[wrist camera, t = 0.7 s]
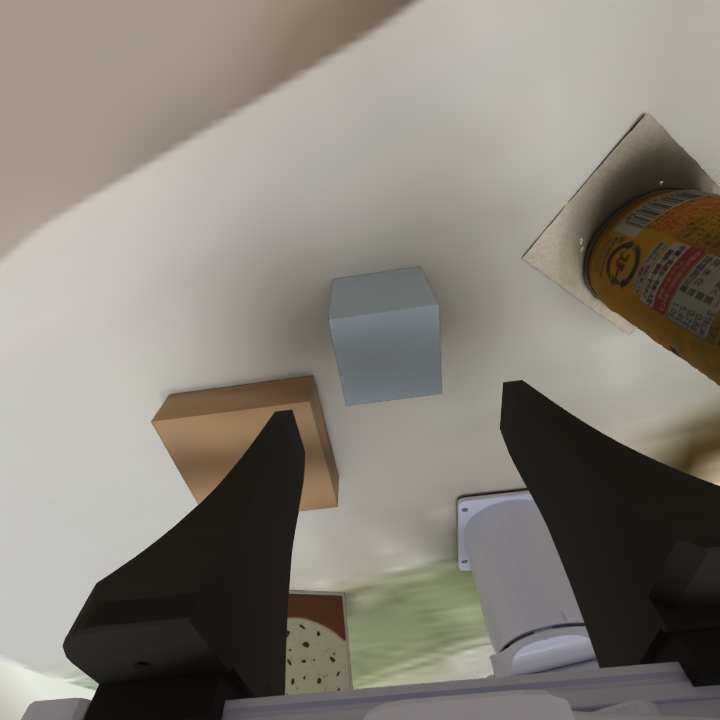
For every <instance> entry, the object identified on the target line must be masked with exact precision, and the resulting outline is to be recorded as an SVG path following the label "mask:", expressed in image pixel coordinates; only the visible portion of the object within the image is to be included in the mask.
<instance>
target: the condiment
mask: <svg viewBox="0 0 720 720" xmlns="http://www.w3.org/2000/svg"><path fill="white" fill-rule="evenodd" d="M660 181H664V182H663V183H662V185H660ZM581 237H583V244H582V245H580V244H579V239H580V238H581ZM581 246H583V247H584V250H583V252H581V253H580V247H581ZM522 259H524V260H525V261H526V262H528V263H529V264H530V265H532V266H533V267H535V268H536V269H537V270H539V271H540V272H542V273H543V274H544V275H546V276H547V277H549V278H550V279H551V280H553V281H554V282H556V283H557V284H558V285H560V286H561V287H562V288H564V289H565V290H567V291H568V292H569V293H571V294H572V295H574V296H575V297H576V298H578V299H579V300H581V301H582V302H583V303H585V304H586V305H588V306H589V307H590V308H592V309H593V310H595V311H596V312H597V313H599V314H600V315H601V316H603V317H604V318H606V319H607V320H608V321H610V322H611V323H613V324H614V325H615V326H617V327H618V328H620V329H621V330H622V331H624V332H625V333H627V334H628V335H630V334H631V333H632V332H633V331H634V330H635V329H637V328H638V329H640V330H642V331H643V332H645V333H646V334H647V335H648V336H649V337H650V338H652V339H653V340H654V341H655V342H657V343H658V344H661V345H662V346H663V347H664V348H666V349H667V350H669V351H672V352H673V353H674V354H676V355H677V356H679V357H681V358H682V359H684V360H685V361H687V362H688V363H689V364H690V365H691V366H693V367H694V368H696V369H698V370H699V371H700V372H701V373H703V374H705V375H706V376H707V377H708V378H709V379H711V380H713V381H715V382H716V383H717V384H718V385H719V386H720V187H719V186H718V185H717V184H716V183H715V181H713V180H712V179H711V178H710V177H709V176H708V175H707V173H706V172H705V171H704V170H703V169H702V168H701V167H700V165H699V164H698V163H697V162H696V161H695V160H694V159H693V158H692V157H691V156H690V155H689V154H687V153H686V151H685V150H684V149H683V148H682V147H681V146H679V145H678V144H677V142H676V141H675V140H674V139H673V138H672V137H671V136H670V135H669V134H668V132H667V131H666V130H665V129H664V127H663V126H662V125H661V124H659V123H658V122H657V121H656V120H655V119H654V118H653V117H652V116H651V115H650V114H649V113H647V114H646V115H645V116H644V117H643V118H642V119H641V121H640V122H639V123H638V124H637V125H636V126H635V128H634V129H633V130H632V131H631V132H630V133H629V134H628V135H627V136H626V137H625V138H624V139H623V140H622V141H621V143H620V144H619V145H618V146H617V147H616V148H615V149H614V150H613V152H612V153H611V154H610V155H609V156H608V157H607V159H606V160H605V161H604V162H603V164H602V165H601V166H600V167H599V168H598V169H597V170H596V171H595V172H594V173H593V174H592V176H591V177H590V178H589V179H588V180H587V182H586V183H585V184H584V185H583V186H582V187H581V189H580V190H579V191H578V192H577V193H576V195H575V196H574V197H573V198H572V199H571V200H570V201H569V202H568V203H567V204H566V205H565V207H564V209H563V210H562V211H561V212H560V214H559V215H558V216H557V218H556V219H555V220H554V221H553V222H552V224H551V225H550V226H549V227H548V228H547V229H546V230H545V231H544V232H543V233H542V235H541V236H540V237H539V239H538V240H537V241H536V243H535V244H534V245H533V246H532V247H531V249H530V250H529V251H528V252H527V253H526V254H525V256H524V257H523V258H522Z"/></svg>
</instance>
